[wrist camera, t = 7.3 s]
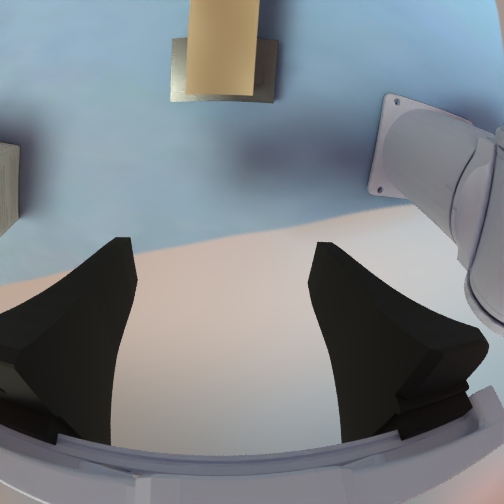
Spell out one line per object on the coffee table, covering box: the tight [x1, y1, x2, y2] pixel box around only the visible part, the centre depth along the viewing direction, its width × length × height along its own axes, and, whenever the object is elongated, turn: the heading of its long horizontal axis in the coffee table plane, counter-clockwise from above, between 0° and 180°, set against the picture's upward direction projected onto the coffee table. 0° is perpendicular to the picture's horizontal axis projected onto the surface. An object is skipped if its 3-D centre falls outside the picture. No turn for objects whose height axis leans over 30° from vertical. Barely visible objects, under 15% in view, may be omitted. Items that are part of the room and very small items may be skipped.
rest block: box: [171, 38, 278, 103], centre depth 15 cm, size 6×4×2 cm, turn 86°
